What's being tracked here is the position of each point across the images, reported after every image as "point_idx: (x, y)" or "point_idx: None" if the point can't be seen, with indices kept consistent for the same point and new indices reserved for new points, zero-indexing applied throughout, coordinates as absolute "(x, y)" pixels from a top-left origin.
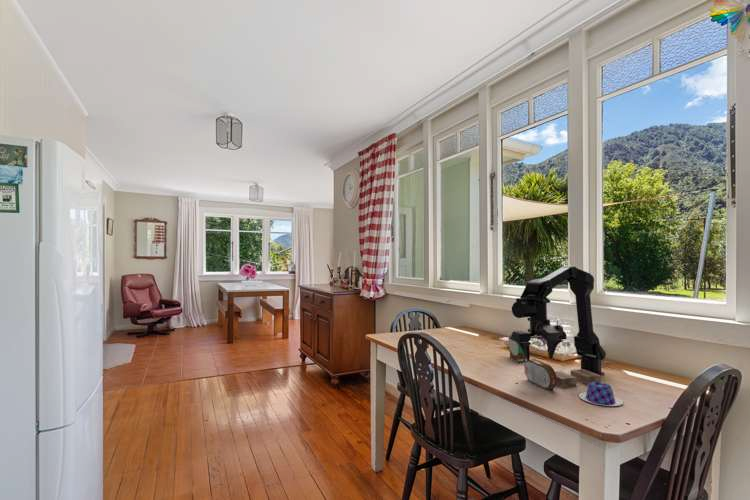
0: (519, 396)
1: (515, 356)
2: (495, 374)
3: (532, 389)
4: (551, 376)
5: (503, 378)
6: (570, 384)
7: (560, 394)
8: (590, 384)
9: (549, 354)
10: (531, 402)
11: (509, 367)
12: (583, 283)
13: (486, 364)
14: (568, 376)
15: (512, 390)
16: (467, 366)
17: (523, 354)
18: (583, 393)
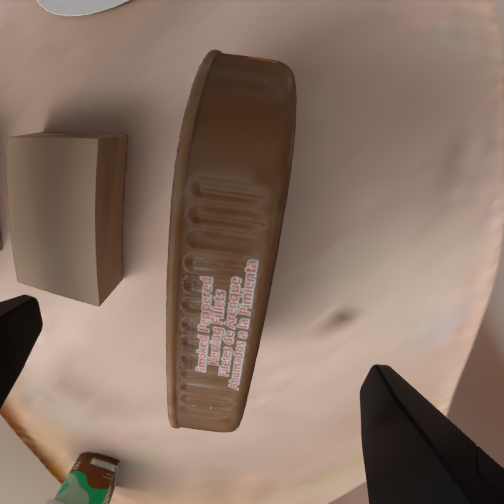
0: (499, 143)
1: (111, 483)
2: (319, 433)
3: (353, 188)
4: (274, 62)
5: (337, 391)
6: (66, 133)
7: (250, 35)
8: None
9: (15, 350)
10: (500, 54)
11: (182, 458)
12: None
13: (247, 493)
14: (28, 174)
15: (463, 231)
16: (331, 495)
17: (84, 477)
18: (113, 1)
